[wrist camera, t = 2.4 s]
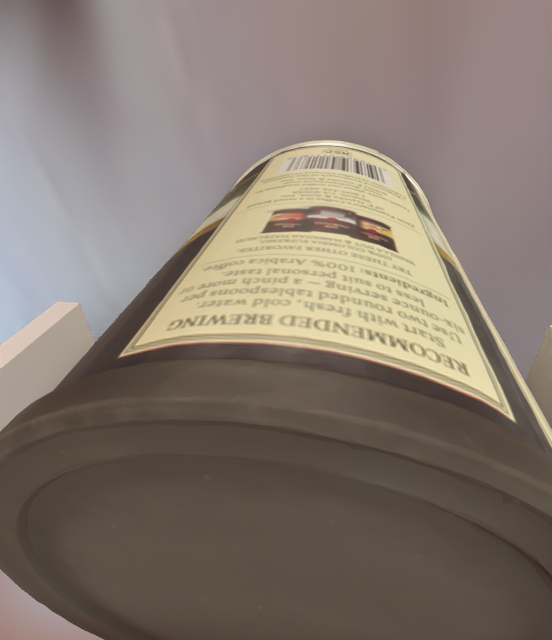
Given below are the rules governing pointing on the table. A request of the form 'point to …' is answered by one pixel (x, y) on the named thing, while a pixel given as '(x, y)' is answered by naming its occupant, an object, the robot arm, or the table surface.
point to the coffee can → (291, 435)
